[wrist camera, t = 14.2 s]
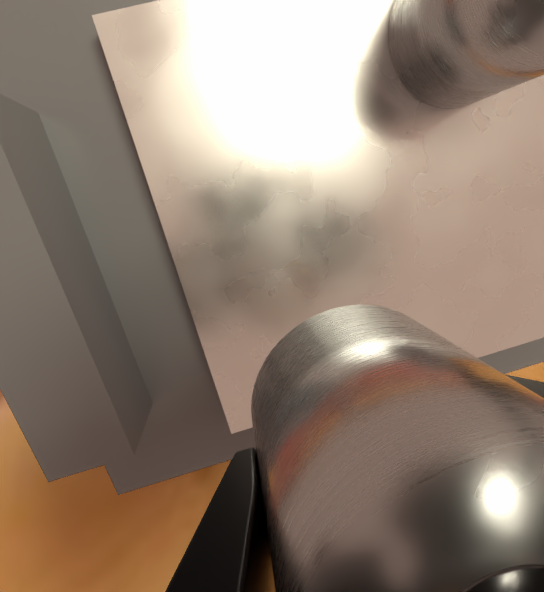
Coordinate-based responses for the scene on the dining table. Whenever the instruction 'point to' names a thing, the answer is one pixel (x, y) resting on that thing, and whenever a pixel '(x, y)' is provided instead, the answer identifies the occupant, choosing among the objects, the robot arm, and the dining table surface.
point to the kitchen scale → (236, 215)
